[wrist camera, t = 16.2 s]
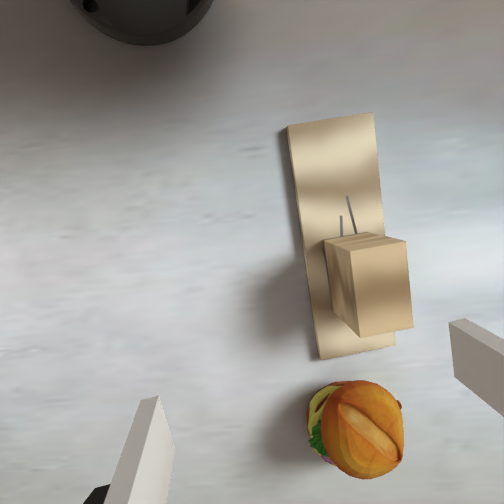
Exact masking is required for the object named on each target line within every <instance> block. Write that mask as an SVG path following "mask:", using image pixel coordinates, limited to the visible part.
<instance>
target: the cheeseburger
mask: <svg viewBox="0 0 504 504" xmlns="http://www.w3.org/2000/svg"><path fill="white" fill-rule="evenodd" d="M401 408H402V405H401V403H400V402H399V401H398V400H395V398H394V397H393V396H392V395H391V393H390V392H388V391H387V390H386V389H384V388H383V387H381V386H380V385H378V384H375V383H372V382H368V381H365V380H357V381H344V382H335V383H333V384H330V385H328V386H326V387H324V388H322V389H321V390H320V391H319V392H318V393H316V395H315V396H314V397H313V398H312V400H311V401H310V405H309V408H308V410H307V428H308V433H309V435H310V438H311V439H310V440H309V442H310V444H311V447H313V448H314V451H315V452H316V453H317V454H318V455H319V456H321V457H322V458H323V459H324V460H325V461H326V462H328V463H330V464H333V465H335V466H337V467H338V468H339V469H340V470H341V471H343V472H345V473H346V474H348V475H349V476H352V477H356V478H360V479H372V478H376V477H379V476H382V475H384V474H386V473H388V472H390V471H392V470H393V469H394V468H395V467H396V466H397V465H398V464H399V463H400V462H401V460H402V457H403V447H404V433H403V420H402V413H401Z"/></svg>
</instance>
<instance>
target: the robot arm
mask: <svg viewBox="0 0 504 504" xmlns="http://www.w3.org/2000/svg"><path fill="white" fill-rule="evenodd" d="M70 1H71V2H72V3H73V5H74V6H75V7H76V9H77V10H78V11H79V12H80V14H81V15H82V16H83V17H84V18H85V19H86V20H87V21H88V22H89V23H91V24H92V25H93V26H94V27H96V28H97V29H98V30H100V31H101V32H103V33H105V34H106V35H108V36H110V37H112V38H115V39H117V40H120V41H123V42H126V43H131V44H137V45H156V44H162V43H166V42H169V41H172V40H174V39H176V38H179V37H180V36H182V35H184V34H185V33H187V32H188V31H190V30H191V29H192V28H193V27H195V26H196V25H197V24H198V23H199V21H200V20H201V19H202V18H203V17H204V15H205V14H206V12H207V11H208V9H209V8H210V6H211V4H212V2H213V0H70ZM449 331H450V340H451V349H452V358H453V367H454V376H455V378H457V379H458V380H459V381H460V382H462V383H463V384H464V385H465V386H466V387H468V388H469V389H470V390H471V391H473V392H474V393H475V394H476V395H477V396H479V397H480V398H481V399H482V400H484V401H485V402H486V403H487V404H488V405H490V406H491V407H492V408H493V409H495V410H496V411H497V412H498V413H500V414H501V415H502V416H503V417H504V339H502V338H500V337H498V336H497V335H495V334H493V333H491V332H489V331H487V330H486V329H484V328H482V327H480V326H478V325H476V324H474V323H473V322H471V321H469V320H467V319H465V318H464V319H460V320H456V321H452V322H449ZM174 456H175V447H174V444H173V440H172V437H171V434H170V431H169V428H168V424H167V421H166V418H165V415H164V412H163V408H162V405H161V402H160V399H159V396H156V397H152V398H148V399H144V400H141V402H140V404H139V407H138V410H137V413H136V415H135V418H134V421H133V424H132V427H131V429H130V432H129V435H128V438H127V440H126V443H125V446H124V449H123V451H122V454H121V457H120V460H119V462H118V465H117V468H116V471H115V473H114V476H113V479H112V482H111V484H109V485H105V486H101V487H97V488H95V489H94V490H93V491H92V493H91V494H90V495H89V497H88V498H87V499H86V500H85V502H84V503H83V504H167V498H168V492H169V486H170V480H171V474H172V468H173V462H174Z"/></svg>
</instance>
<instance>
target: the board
mask: <svg viewBox="0 0 504 504" xmlns="http://www.w3.org/2000/svg"><path fill="white" fill-rule="evenodd" d="M286 131H287V138H288V145H289V152H290V159H291V166H292V173H293V180H294V187H295V194H296V201H297V208H298V215H299V222H300V229H301V236H302V243H303V250H304V257H305V264H306V271H307V278H308V286H309V293H310V300H311V307H312V314H313V321H314V328H315V335H316V342H317V349H318V356H319V358H320V360H326V359H330V358H335V357H340V356H345V355H350V354H355V353H360V352H365V351H370V350H375V349H379V348H384V347H389V346H394V345H396V339H395V332H390V333H385V334H380V335H375V336H370V337H365V338H359V337H358V336H357V335H356V334H355V333H354V332H353V331H352V330H351V328H350V327H349V326H348V325H347V324H346V323H345V322H344V321H343V320H342V319H341V318H340V317H339V316H338V315H337V314H336V313H335V312H334V311H333V310H332V308H331V300H330V293H329V285H328V278H327V270H326V262H325V255H324V247H323V240H324V239H329V238H335V237H340V236H346V235H351V234H357V233H363V232H370V233H374V234H378V235H383V236H385V228H384V218H383V208H382V198H381V188H380V178H379V168H378V158H377V148H376V138H375V128H374V118H373V112H371V113H364V114H358V115H352V116H345V117H339V118H332V119H326V120H320V121H313V122H307V123H301V124H294V125H288V126H287V127H286Z"/></svg>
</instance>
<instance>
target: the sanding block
mask: <svg viewBox="0 0 504 504" xmlns="http://www.w3.org/2000/svg"><path fill="white" fill-rule="evenodd" d="M323 247H324V255H325V262H326V270H327V278H328V285H329V293H330V300H331V308H332V310H333V311H334V312H335V313H336V314H337V315H338V316H339V317H340V318H341V319H342V320H343V321H344V322H345V323H346V324H347V325H348V326H349V327H350V328H351V330H352V331H353V332H354V333H355V334H356V335H357V336H358V337H359V338H365V337H370V336H375V335H380V334H385V333H390V332H395V331H399V330H404V329H409V328H414V327H413V316H412V305H411V294H410V283H409V271H408V260H407V249H406V241H403V240H399V239H395V238H391V237H387V236H383V235H378V234H374V233H370V232H363V233H357V234H351V235H346V236H340V237H335V238H329V239H324V240H323Z"/></svg>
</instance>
